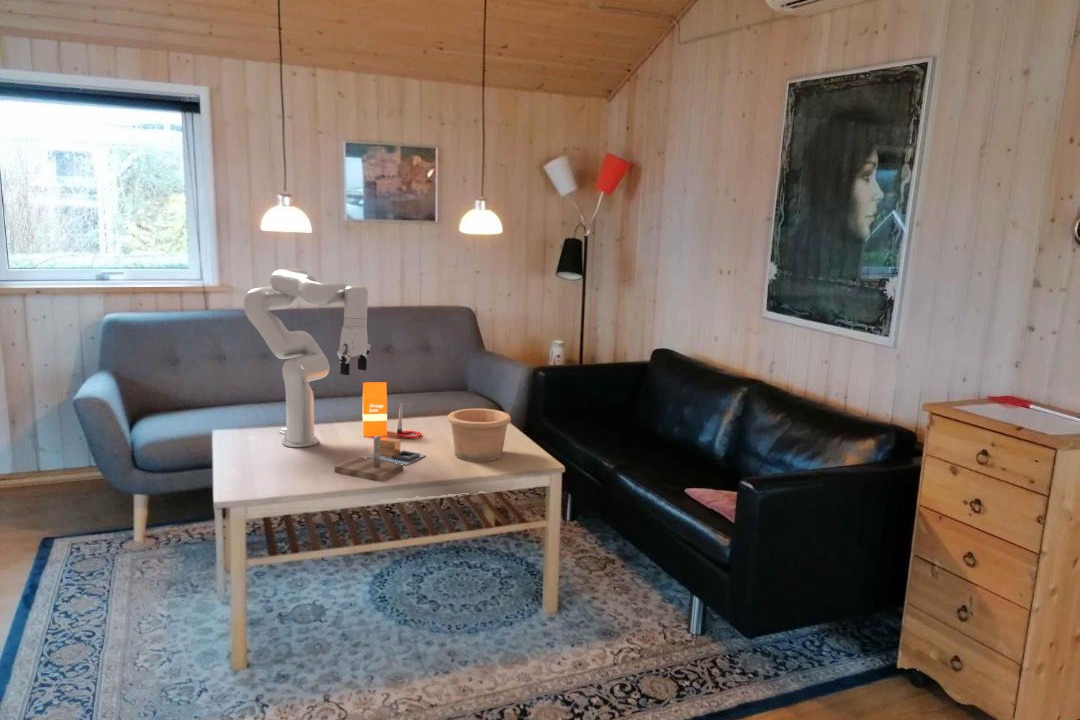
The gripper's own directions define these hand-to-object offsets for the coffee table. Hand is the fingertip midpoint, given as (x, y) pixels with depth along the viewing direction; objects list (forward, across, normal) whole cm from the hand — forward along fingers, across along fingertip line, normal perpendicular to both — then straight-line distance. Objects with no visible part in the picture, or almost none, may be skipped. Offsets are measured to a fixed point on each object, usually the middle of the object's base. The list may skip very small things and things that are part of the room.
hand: (353, 372), depth 255 cm
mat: (+28, -4, +16) cm, 33 cm away
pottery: (+28, -21, +39) cm, 52 cm away
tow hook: (+29, -30, +5) cm, 42 cm away
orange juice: (+30, -26, -8) cm, 40 cm away
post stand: (+28, +12, +16) cm, 35 cm away
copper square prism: (+28, -4, +16) cm, 33 cm away
